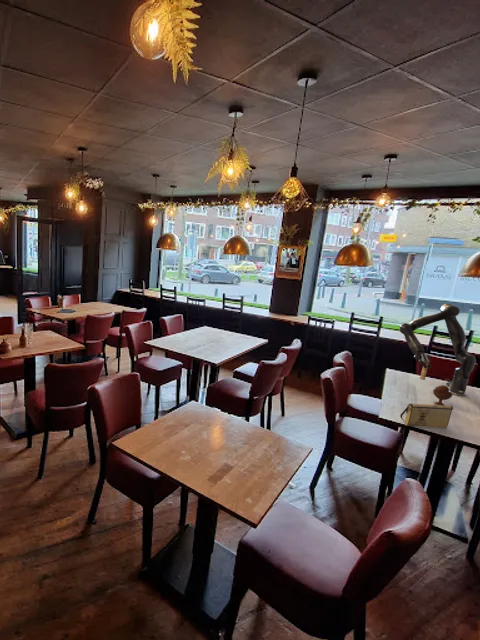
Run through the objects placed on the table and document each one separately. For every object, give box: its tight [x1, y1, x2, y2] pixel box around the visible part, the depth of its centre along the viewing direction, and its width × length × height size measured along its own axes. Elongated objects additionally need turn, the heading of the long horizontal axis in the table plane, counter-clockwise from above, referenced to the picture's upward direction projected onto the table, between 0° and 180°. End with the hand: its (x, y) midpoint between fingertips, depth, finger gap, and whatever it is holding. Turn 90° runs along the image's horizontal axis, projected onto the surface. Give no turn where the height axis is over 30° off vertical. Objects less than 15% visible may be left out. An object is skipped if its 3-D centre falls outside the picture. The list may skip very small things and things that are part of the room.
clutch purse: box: [399, 403, 454, 429], centre depth 211 cm, size 30×7×15 cm, turn 92°
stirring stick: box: [419, 361, 430, 381], centre depth 255 cm, size 3×3×14 cm
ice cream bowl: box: [432, 384, 453, 405], centre depth 245 cm, size 11×11×15 cm
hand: (428, 367), depth 252 cm, fingers closed on stirring stick, 3 cm apart
